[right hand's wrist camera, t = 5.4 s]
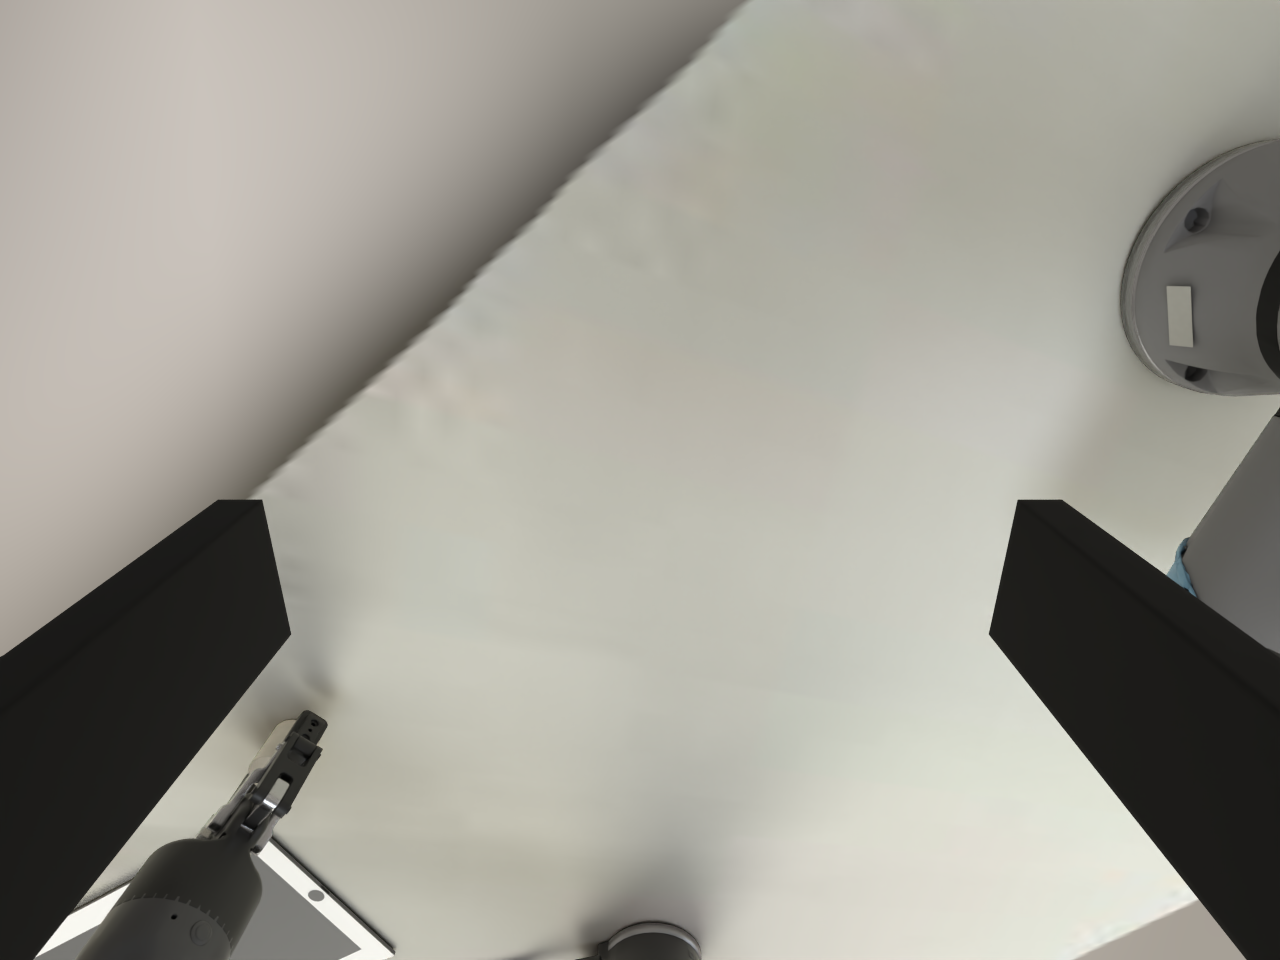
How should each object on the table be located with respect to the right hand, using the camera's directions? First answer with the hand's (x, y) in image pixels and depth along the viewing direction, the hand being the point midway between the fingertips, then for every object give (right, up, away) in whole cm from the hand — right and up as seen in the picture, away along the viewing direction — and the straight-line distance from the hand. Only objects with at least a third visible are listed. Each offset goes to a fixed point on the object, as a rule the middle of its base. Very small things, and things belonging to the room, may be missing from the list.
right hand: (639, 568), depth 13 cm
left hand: (-28, -20, +45) cm, 57 cm away
